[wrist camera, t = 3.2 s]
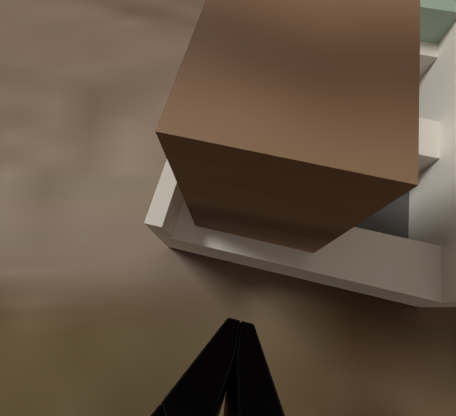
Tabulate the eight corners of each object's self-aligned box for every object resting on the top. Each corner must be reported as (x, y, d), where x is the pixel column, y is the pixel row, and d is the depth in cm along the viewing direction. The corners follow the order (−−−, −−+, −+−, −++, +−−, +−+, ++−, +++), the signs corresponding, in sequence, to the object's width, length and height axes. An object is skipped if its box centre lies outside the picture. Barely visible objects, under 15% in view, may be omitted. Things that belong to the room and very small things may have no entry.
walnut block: (314, 253, 14) (418, 184, 6) (195, 225, 14) (155, 131, 7) (328, 148, 16) (420, -1, 8) (223, 128, 16) (217, -31, 9)
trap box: (418, 307, 16) (500, 306, 11) (168, 247, 17) (144, 223, 12) (420, 71, 21) (475, 3, 17) (233, 39, 22) (234, -33, 18)
